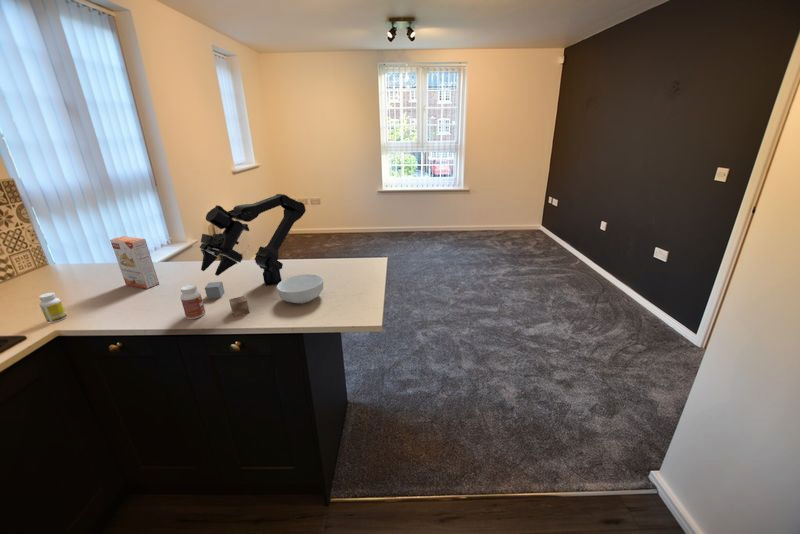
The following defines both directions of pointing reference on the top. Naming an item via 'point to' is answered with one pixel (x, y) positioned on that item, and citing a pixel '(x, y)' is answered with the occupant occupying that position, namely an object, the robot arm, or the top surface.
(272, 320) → the top surface
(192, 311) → the pill bottle
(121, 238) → the cracker box
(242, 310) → the walnut cube
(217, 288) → the slate-grey cube
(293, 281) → the cereal bowl
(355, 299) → the top surface
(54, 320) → the supplement bottle
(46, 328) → the top surface
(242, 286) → the top surface
